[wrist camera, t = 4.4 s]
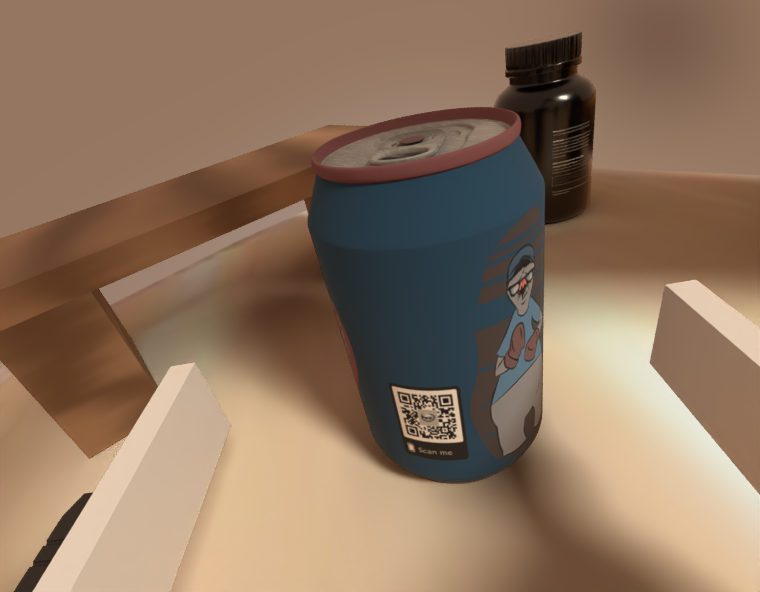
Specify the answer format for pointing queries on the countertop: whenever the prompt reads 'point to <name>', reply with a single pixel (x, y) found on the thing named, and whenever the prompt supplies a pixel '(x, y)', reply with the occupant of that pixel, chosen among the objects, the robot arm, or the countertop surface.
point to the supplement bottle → (554, 117)
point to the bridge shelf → (115, 261)
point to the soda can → (438, 284)
